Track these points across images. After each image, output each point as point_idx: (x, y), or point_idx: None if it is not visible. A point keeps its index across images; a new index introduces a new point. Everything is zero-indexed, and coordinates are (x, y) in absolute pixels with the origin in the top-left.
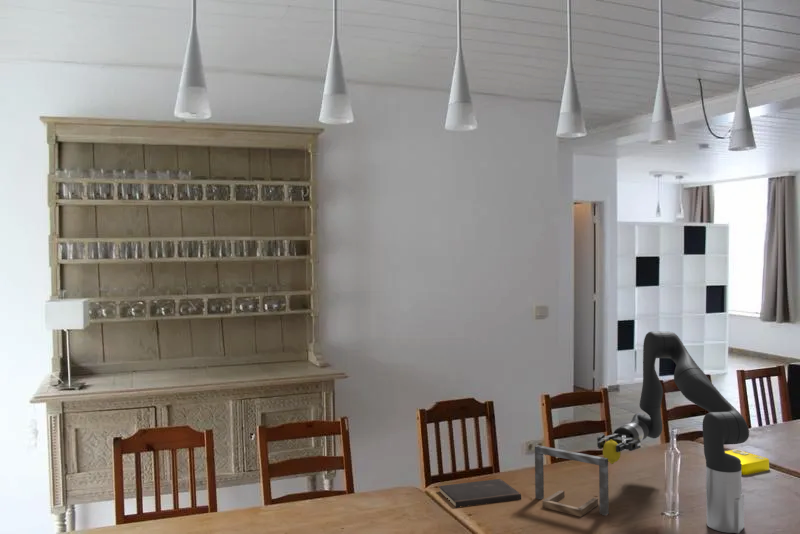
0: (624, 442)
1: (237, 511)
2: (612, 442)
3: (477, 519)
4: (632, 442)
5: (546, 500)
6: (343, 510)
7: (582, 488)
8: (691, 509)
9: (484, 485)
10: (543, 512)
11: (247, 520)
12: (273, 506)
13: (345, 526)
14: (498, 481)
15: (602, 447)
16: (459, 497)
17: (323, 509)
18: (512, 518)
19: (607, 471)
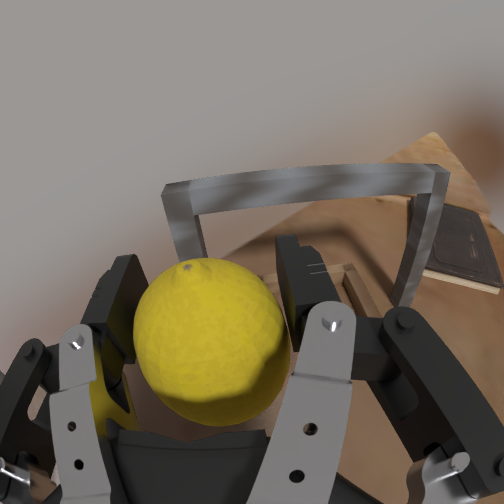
0: (71, 334)
1: (445, 147)
2: (172, 267)
3: (358, 198)
4: (13, 372)
5: (347, 267)
6: None
7: (400, 454)
8: None
9: (473, 248)
10: (324, 259)
11: (427, 144)
12: (451, 154)
13: (396, 154)
14: (490, 275)
15: (283, 304)
16: None
17: (438, 160)
18: (334, 219)
19: (174, 237)
